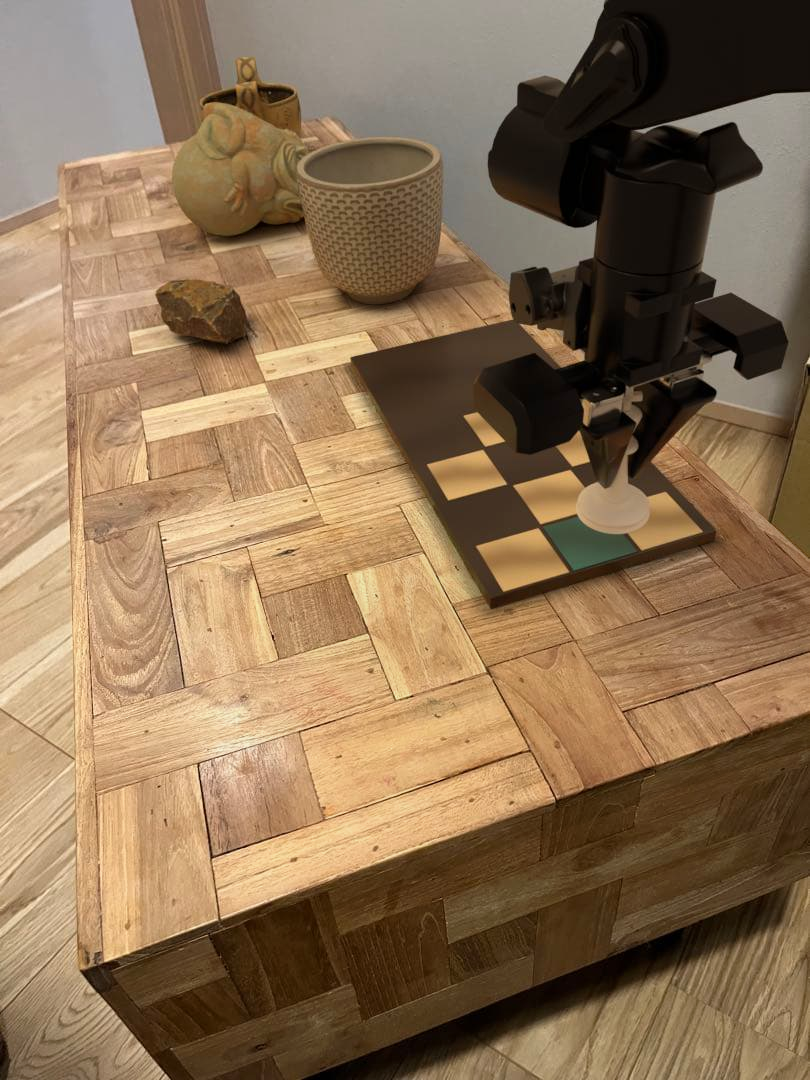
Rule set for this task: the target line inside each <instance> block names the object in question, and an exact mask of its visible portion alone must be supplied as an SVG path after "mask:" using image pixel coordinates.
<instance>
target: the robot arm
mask: <svg viewBox="0 0 810 1080" xmlns="http://www.w3.org/2000/svg"><path fill="white" fill-rule="evenodd" d="M602 7H603V9H602V11H601V13H600V14H599V17H598V18H597V21H596V25H595V28H594V32H593V36H592V39H591V41H590V42H589V44H588V46H587V47H586V49H585V51H584V53H582V56H581V58H580V59H579V61H578V62H577V64H576V66H575V67H574V69H573V71H571V74H570V76H569V77H568V79H567V81H566V82H564V81H562V80H561V79H560V78H559V79H558V78H557V77H552V76H549V75H541V76H539V77H535V78H531V79H527V80H524V81H520V82H519V83H518V84H517V88H516V105H515V106H514V107H513V108H512V109H511V110H510V111H509V112H508V113H507V114H506V115H505V117H504V119H503V120H502V122H501V123H500V125H499V127H498V129H497V131H496V133H495V136H494V138H493V141H492V146H491V149H490V150H489V151H488V154H487V172H488V179H489V181H490V183H491V187H492V188H493V190H494V191H495V192H496V194H497V195H498V196H500V197H501V198H502V199H503V200H505V201H508V202H510V203H512V204H515V205H517V206H519V207H522V208H524V209H527V210H529V211H531V212H534V213H536V214H538V215H540V216H543V217H545V218H548V219H550V220H553V221H555V222H557V223H559V224H562V225H564V226H566V227H570V228H574V229H583V228H586V227H588V226H591V225H592V224H594V223H596V225H595V237H594V247H593V257H591V258H586V259H582V260H579V261H578V265H574V266H571V267H568V268H564V269H560V270H557V271H553V272H550V270H549V268H548V267H547V266H541V267H538V266H530V267H528V268H523V269H519V270H515V271H512V272H511V273H510V277H509V289H508V302H509V309H510V315H511V318H512V319H514V321H515V322H516V323H518V324H520V325H524V326H530V327H532V326H536V328H537V330H538V331H545V330H547V329H551V330H557V331H562V332H563V335H562V343H563V344H564V345H565V346H566V347H567V348H568V349H570V350H571V351H573V352H575V351H578V350H581V351H582V352H583V353H584V356H583V357H584V358H583V359H584V360H580V361H578V362H575V363H571V364H568V365H565V366H562V367H561V368H559V369H555V370H554V369H553V368H552V367H551V366H550V365H549V364H547V363H546V362H545V361H544V360H543V359H542V358H540V357H539V356H538V355H537V354H536V353H532V354H529V355H526V356H522V357H519V358H516V359H513V360H509V361H506V362H503V363H500V364H496V365H493V366H490V367H487V368H484V369H483V370H482V371H481V372H479V373H478V374H477V376H476V378H475V381H474V384H473V408H474V409H475V410H476V411H477V412H478V413H479V415H480V416H481V417H482V418H483V419H484V420H485V421H486V422H487V423H488V424H489V425H490V426H491V427H492V428H493V429H494V430H495V431H496V432H497V433H498V434H499V435H500V436H501V437H502V438H503V440H504V441H505V442H506V443H507V444H508V445H509V446H510V447H511V448H512V449H513V450H514V451H515V452H516V453H521V454H527V455H532V454H535V453H538V452H541V451H543V450H546V449H549V448H552V447H555V446H558V445H561V444H564V443H567V442H570V441H571V439H572V438H573V437H574V436H575V435H576V433H577V432H578V431H579V432H580V434H581V437H582V440H583V442H584V445H585V448H586V451H587V454H588V457H589V460H590V463H591V466H592V469H593V472H594V475H595V478H596V481H597V482H598V483H599V484H600V485H601V486H602V487H603V488H604V489H606V488H609V487H610V486H611V485H612V483H613V481H614V479H615V477H616V475H617V473H618V470H619V468H620V465H621V463H622V460H623V457H624V455H625V452H626V450H627V447H628V444H629V442H630V440H631V437H632V436H634V437H635V438H636V439H637V441H638V449H637V451H635V452H634V453H632V454H629V455H628V477H630V478H631V479H634V478H636V477H638V476H639V474H640V473H641V472H642V471H643V470H644V469H645V468H646V466H647V465H648V464H649V463H650V462H652V461H653V460H654V459H655V458H656V456H657V455H658V454H659V453H660V452H661V451H662V450H663V449H664V448H665V446H666V445H667V444H668V443H669V442H670V441H671V440H672V438H673V437H675V435H677V433H678V432H679V431H680V430H681V429H682V428H683V427H684V426H685V425H686V424H688V422H689V421H690V420H691V419H692V418H693V417H694V416H695V415H696V414H697V413H698V412H699V411H700V410H701V409H702V408H703V407H704V406H705V405H707V404H709V403H711V402H714V401H715V399H716V398H717V394H718V391H717V389H716V388H715V387H713V386H712V385H711V384H709V383H708V382H706V381H705V380H703V379H704V375H705V371H704V370H703V367H704V365H706V364H708V363H711V362H712V361H713V357H715V356H718V355H721V354H724V353H727V352H730V351H731V352H732V353H734V354H735V359H734V362H733V367H732V369H734V370H735V371H736V373H737V374H739V375H740V376H741V377H742V378H744V379H745V380H747V381H750V380H752V379H755V378H758V377H761V376H764V375H767V374H770V373H773V372H777V371H779V370H781V369H782V367H783V365H784V360H785V357H786V353H787V350H788V346H789V342H790V341H789V340H790V339H789V337H788V334H787V332H786V328H785V326H784V324H783V322H782V321H781V320H780V319H778V318H777V317H774V316H773V315H771V314H770V313H768V312H766V311H764V310H763V309H761V308H759V307H757V306H756V305H754V304H752V303H750V302H749V301H747V300H745V299H743V298H742V297H740V296H738V295H736V294H735V293H733V292H728V293H725V294H722V295H718V296H715V297H714V295H715V291H716V285H717V278H715V277H713V276H711V275H710V274H707V273H706V272H704V271H703V270H702V269H703V263H704V260H705V259H704V258H705V253H706V247H707V242H708V238H709V232H710V225H711V221H712V216H713V211H714V207H715V205H714V204H715V199H716V195H717V193H720V192H722V191H725V190H727V189H729V188H730V189H731V188H732V187H735V186H737V185H740V184H742V183H745V182H748V181H750V180H753V179H755V178H758V177H759V176H760V175H761V174H762V172H763V171H764V170H763V169H764V165H763V162H762V161H761V159H760V158H759V156H758V155H757V153H756V151H755V150H754V149H753V147H751V146H750V145H749V144H747V142H746V141H745V140H744V139H743V137H742V135H741V133H740V129H739V126H738V124H737V123H736V122H734V121H729V122H726V123H724V124H720V125H718V126H715V127H712V128H709V129H706V130H704V131H702V132H698V131H694V130H692V129H691V130H690V129H687V128H684V127H680V126H677V125H672V124H669V123H673V122H676V121H680V120H684V119H688V118H692V117H695V116H699V115H703V114H705V113H709V112H713V111H717V110H720V109H723V108H727V107H731V106H734V105H737V104H738V105H739V104H741V103H742V104H743V103H745V102H748V101H752V100H756V99H761V98H763V97H767V96H771V95H777V94H797V93H799V94H801V93H810V0H604V1H603V6H602ZM649 128H650V129H649ZM646 129H649V130H647V131H646V132H645V133H644V132H640V131H642V130H646ZM633 387H634V388H633ZM630 388H633V392H634V391H642V394H643V398H642V401H634V402H631V404H632V405H635V406H636V407H638V408H639V409H640V410H641V412H642V418H641V420H640V422H639V424H638V425H637V426H636V422H635V421H634V420H633V419H631V418H630V417H629V416H628V415H627V414H625V413H624V412H623V411H622V406H623V398H624V397H625V395H626V390H627V389H630ZM635 426H636V428H635ZM634 429H635V430H634ZM633 432H634V433H633Z"/></svg>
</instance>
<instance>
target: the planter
mask: <svg viewBox="0 0 810 1080" xmlns="http://www.w3.org/2000/svg"><path fill="white" fill-rule="evenodd" d="M441 153H442V152H440V150H439V149H438V148H437V147H436V146H435V145H433V144H431V143H429V142H425V141H423V140H419V139H416V138H409V137H400V136H399V137H397V136H375V137H363V138H361V137H360V138H354V139H349V140H343V141H340V142H334V143H332V144H327V145H324V146H322V147H319V148H318V149H315V150H313V151H311V152H310V153H309V154H308V155H306V156H305V157H303V158H302V159H301V160H300V161H299V163H298V164H297V167H296V180H297V187H298V192H299V197H300V201H301V205H302V210H303V214H304V216H303V218H304V219H303V220H304V223H305V227H306V231H307V235H308V239H309V242H310V245H311V246H310V247H311V249H312V252H313V255H314V258H315V261H316V264H317V266H318V268H319V270H320V272H321V274H322V276H323V277H324V278H325V279H326V280H327V281H328V282H329V283H330V284H332V285H333V286H334V287H336V288H338V289H339V290H341V291H344V292H345V293H346V294H347V296H348V297H349V298H351V299H352V300H354V301H356V302H357V303H362V304H365V305H384V304H385V305H386V304H391V303H395V302H399V301H401V300H403V299H405V298H407V297H408V296H410V295H411V293H412V292H413V291H414V289H415V287H416V285H417V284H419V283H420V282H421V281H423V280H424V279H425V278H426V277H427V276H428V275H429V274H430V272H431V271H432V270H433V268H434V267H435V264H436V262H437V259H438V256H439V252H440V251H439V250H440V244H441V243H440V242H441V235H442V234H441V233H442V223H443V194H444V165H443V164H444V163H443V156H442V154H441Z"/></svg>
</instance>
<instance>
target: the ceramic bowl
mask: <svg viewBox="0 0 810 1080" xmlns="http://www.w3.org/2000/svg"><path fill="white" fill-rule="evenodd" d="M235 66H236V73H237V80H236V83H235V84H234V86H232V87H228V88H223V89H219V90H216V91H214V92H211V93H208V94H206V95H204V97H202V98H200V100H199V110H200V115H201V116H200V118H201V121H202V122H201V123H203V121H204V119H205V118H204V112H203V110H204V106H205V104H206V103H207V104H208V103H212V102H219V103H225V104H229V105H232V106H236V107H238V108H240V109H243V110H246V111H247V112H249V113H252V114H253V115H255V116H257V117H258V118H260V119H262V120H263V121H266V122H268V123H269V124H272V125H273V126H275V127H276V128H278V129H281V130H285V129H289V130H291V131H293V132H295V133H296V135H297V136H298V137H299V138H300V136H301V129H302V110H301V109H302V108H301V104H300V99H299V95H298V91H297V88H296V87H294V86H292V85H289V84H286V83H276V82H271V83H268V82H265V81H262V80H261V78H260V77H259V75H258V74H259V73H258V69H257V64H256V58H255V56H242V57H236V58H235Z"/></svg>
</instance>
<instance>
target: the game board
mask: <svg viewBox="0 0 810 1080" xmlns="http://www.w3.org/2000/svg"><path fill="white" fill-rule="evenodd" d="M532 353H536V354H537V355H538V356H539V357H540V358H542V359H543V360H544V361H545V362H546V363H547V364H549V365H550V366H551V367H552V368H553V369H554V370H555V369H559V368H562V367H561V366H560V365H559V364H558V363H557V362H556V361H555V360H554V359H553V357H552V356H551V355H550V354H549V353H548V352H547V351H546V350H545V349H544V348H543V347H542V346H541V345H540V344H539V343H538V342H537V341H536V340H535V338H534V337H533V336H532V335H531V334H530V333H529V332H528V331H527V330H526V329H525V328H524V327H523V326H522V324H518V323H516V322H515V321H514V319H513V318H512V319H508V320H504V321H500V322H495V323H491V324H487V325H483V326H478V327H474V328H469V329H466V330H462V331H457V332H452V333H447V334H443V335H440V336H435V337H431V338H427V339H422V340H418V341H414V342H409V343H405V344H401V345H396V346H392V347H388V348H384V349H379V350H375V351H371V352H366V353H362V354H357V355H354V356H350V357H349V358H350V366H351V368H352V370H353V372H354V373H355V375H356V377H357V379H358V380H359V382H360V384H361V385H362V387H363V390H364V391H365V393H366V394H367V396H368V398H369V400H370V402H371V403H372V405H373V407H374V408H375V410H376V412H377V414H378V415H379V417H380V419H381V420H382V422H383V424H384V425H385V428H386V430H387V431H388V432H389V435H390V436H391V438H392V440H393V441H394V443H395V445H396V447H397V448H398V450H399V452H400V453H401V456H402V457H403V459H404V460H405V462H406V464H407V466H408V467H409V470H410V471H411V473H412V474H413V476H414V478H415V480H416V482H417V483H418V485H419V487H420V489H421V490H422V492H423V494H424V496H425V498H426V499H427V501H428V503H429V504H430V506H431V508H432V509H433V511H434V513H435V514H436V516H437V518H438V520H439V522H440V523H441V525H442V527H443V529H444V530H445V532H446V534H447V536H448V538H449V539H450V541H451V543H452V545H453V546H454V548H455V549H456V551H457V553H458V556H459V557H460V558H461V560H462V562H463V564H464V565H465V567H466V569H467V571H468V573H469V574H470V576H471V578H472V579H473V581H474V583H475V585H476V586H477V588H478V590H479V592H480V593H481V595H482V597H483V598H484V600H485V602H486V604H487V605H488V607H489V609H493V608H497V607H500V606H503V605H507V604H510V603H513V602H517V601H520V600H524V599H526V598H530V597H532V596H533V597H534V596H537V595H540V594H543V593H547V592H550V591H553V590H557V589H560V588H564V587H566V586H569V585H572V584H576V583H580V582H583V581H587V580H589V579H593V578H596V577H599V576H602V575H603V576H604V575H606V574H609V573H612V572H616V571H619V570H622V569H626V568H628V567H633V566H636V565H639V564H642V563H645V562H648V561H652V560H655V559H658V558H662V557H665V556H669V555H672V554H675V553H678V552H682V551H686V550H689V549H691V548H695V547H699V546H702V545H705V544H708V543H712V542H715V539H716V536H717V532H718V531H717V529H716V528H715V526H713V524H711V523H710V521H709V520H707V519H706V517H704V515H703V514H701V512H700V511H699V510H698V509H697V508H696V507H695V506H694V505H693V504H692V503H691V502H690V501H689V500H688V498H687V497H686V496H685V495H684V494H683V493H682V492H681V491H680V490H679V489H678V488H677V487H676V486H675V485H674V484H673V483H672V482H671V481H670V480H669V479H668V477H667V476H665V474H663V472H662V471H661V470H660V469H659V468H658V467H657V466H656V465H655V464H654V463H653V462H652V461H651V462H650V463H649V464H648V465H647V466H646V468H645V469H644V470H643V471H642V472H641V473H640V474H639V476H638V477H636V478H634V479H631V478H630V477H628V484H630V485H633V486H635V487H636V488H638V489H639V490H641V491H642V492H643V493H644V494H645V495H646V497H647V499H648V501H649V505H650V508H649V510H650V515H649V519H648V521H647V522H646V523H645V524H644V525H643V526H642V527H641V528H639V529H638V530H635V531H633V532H630V533H625V534H608V533H603V532H599V531H596V530H594V529H592V528H590V527H588V526H587V525H585V524H584V523H583V522H582V521H581V520H580V519H579V517H578V515H577V513H576V504H577V501H578V497H579V495H580V493H581V492H582V491H583V490H584V489H585V488H586V487H588V486H589V485H591V484H594V483H597V481H596V478H595V475H594V472H593V469H592V466H591V463H590V460H589V457H588V454H587V451H586V448H585V445H584V442H583V440H582V437H581V434H580V432H579V431H578V432H577V433H576V435H575V436H574V437H573V438H572V439H571V441H570V442H567V443H564V444H561V445H558V446H555V447H552V448H549V449H546V450H543V451H541V452H538V453H535V454H532V455H527V454H521V453H516V452H515V451H514V450H513V449H512V448H511V447H510V446H509V445H508V444H507V443H506V442H505V441H504V440H503V438H502V437H501V436H500V435H499V434H498V433H497V432H496V431H495V430H494V429H493V428H492V427H491V426H490V425H489V424H488V423H487V422H486V421H485V420H484V419H483V418H482V417H481V416H480V415H479V413H478V412H477V411H476V410H475V409H474V408H473V384H474V381H475V378H476V376H477V374H478V373H479V372H481V371H482V370H483V369H484V368H487V367H490V366H493V365H496V364H500V363H503V362H506V361H509V360H513V359H516V358H519V357H522V356H526V355H529V354H532Z"/></svg>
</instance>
